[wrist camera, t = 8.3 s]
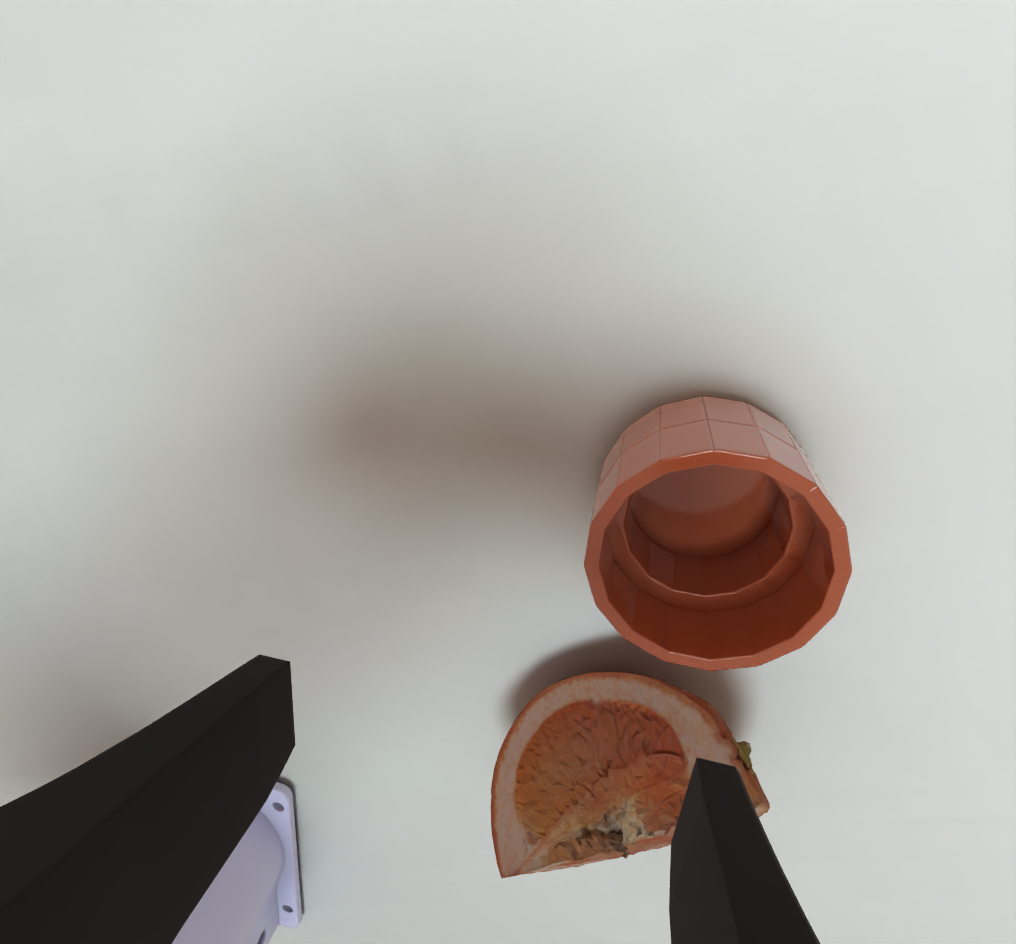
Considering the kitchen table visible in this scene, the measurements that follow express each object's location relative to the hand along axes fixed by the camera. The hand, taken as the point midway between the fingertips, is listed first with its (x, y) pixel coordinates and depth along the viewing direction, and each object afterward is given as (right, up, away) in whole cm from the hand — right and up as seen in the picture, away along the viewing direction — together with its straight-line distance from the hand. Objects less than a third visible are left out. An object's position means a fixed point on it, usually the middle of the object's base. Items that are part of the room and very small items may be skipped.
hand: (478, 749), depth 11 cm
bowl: (+6, +4, +7) cm, 10 cm away
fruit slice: (+5, -4, +11) cm, 13 cm away
